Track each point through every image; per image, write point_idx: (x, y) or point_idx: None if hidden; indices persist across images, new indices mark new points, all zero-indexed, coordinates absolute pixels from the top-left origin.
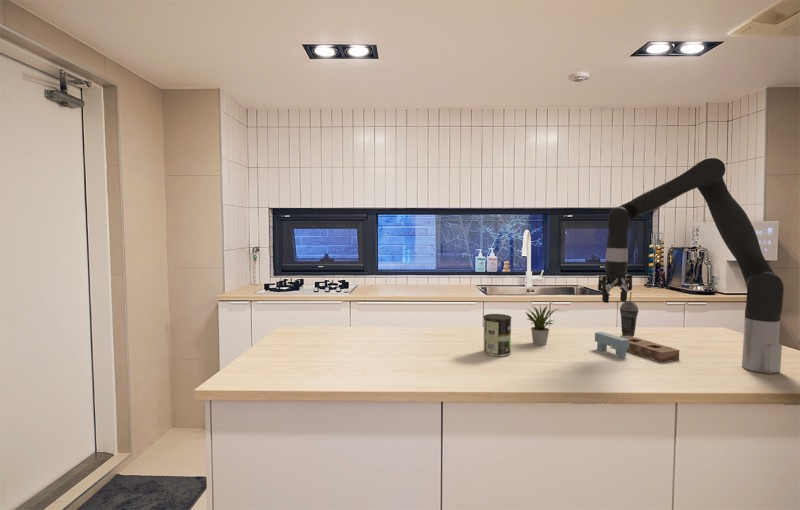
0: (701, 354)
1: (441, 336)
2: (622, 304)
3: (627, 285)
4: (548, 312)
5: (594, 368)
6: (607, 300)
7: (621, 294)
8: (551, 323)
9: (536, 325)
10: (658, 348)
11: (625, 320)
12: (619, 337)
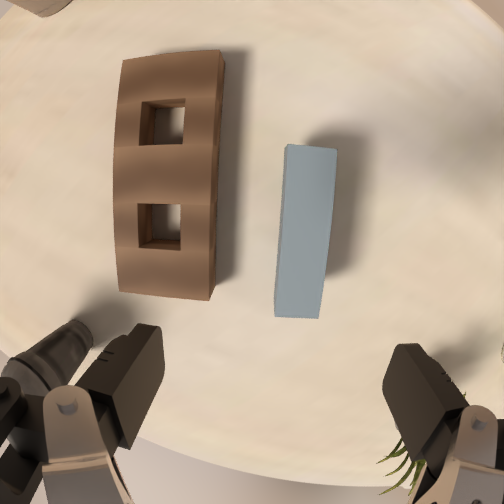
0: (40, 105)
1: None
2: None
3: (7, 460)
4: (403, 462)
5: (472, 133)
6: (422, 354)
7: (139, 415)
8: None
9: None
10: (173, 94)
11: (64, 366)
12: (295, 198)
